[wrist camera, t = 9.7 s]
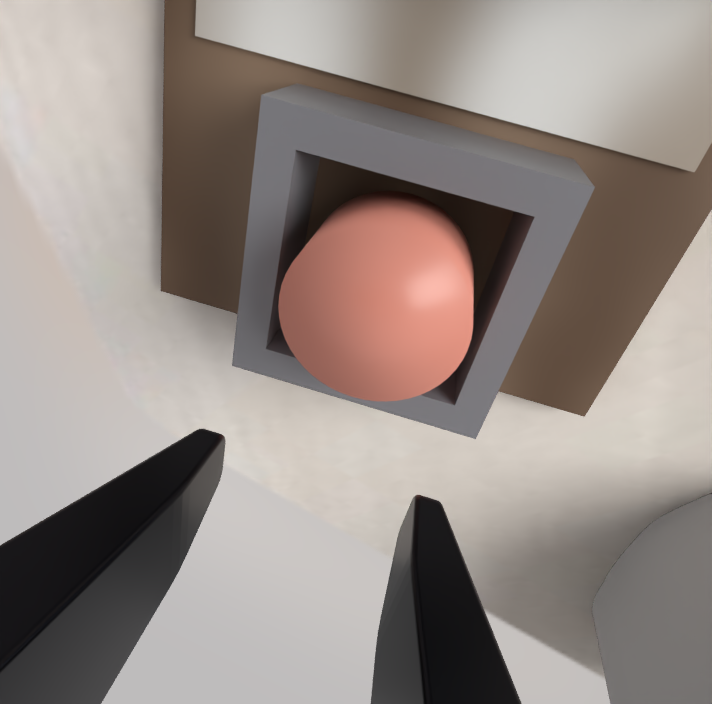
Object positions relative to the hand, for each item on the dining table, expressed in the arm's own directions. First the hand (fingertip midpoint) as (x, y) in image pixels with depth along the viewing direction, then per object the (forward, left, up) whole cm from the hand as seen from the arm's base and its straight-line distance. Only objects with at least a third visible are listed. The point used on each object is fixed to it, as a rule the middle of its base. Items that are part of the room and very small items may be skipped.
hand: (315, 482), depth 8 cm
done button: (0, 0, -8) cm, 8 cm away
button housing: (0, 0, -11) cm, 11 cm away
